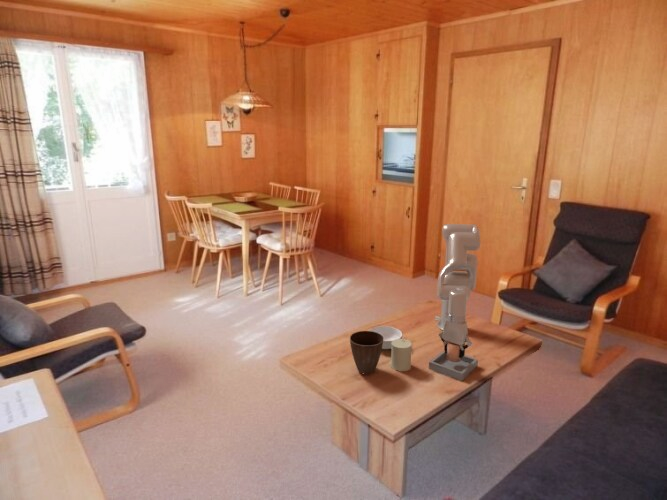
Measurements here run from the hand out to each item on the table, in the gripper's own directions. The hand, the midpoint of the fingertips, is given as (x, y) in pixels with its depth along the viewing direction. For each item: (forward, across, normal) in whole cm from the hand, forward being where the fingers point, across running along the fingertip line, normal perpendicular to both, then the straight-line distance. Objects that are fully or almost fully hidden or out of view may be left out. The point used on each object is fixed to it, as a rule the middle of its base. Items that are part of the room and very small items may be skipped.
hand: (454, 354), depth 203 cm
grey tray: (+7, 0, 0) cm, 7 cm away
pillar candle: (+7, -19, -14) cm, 25 cm away
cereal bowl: (+7, -36, -2) cm, 37 cm away
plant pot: (+7, -29, -27) cm, 40 cm away
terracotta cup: (+2, 0, 0) cm, 2 cm away
